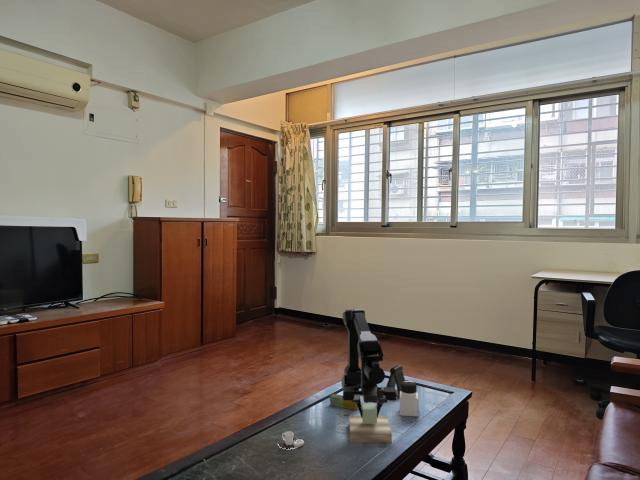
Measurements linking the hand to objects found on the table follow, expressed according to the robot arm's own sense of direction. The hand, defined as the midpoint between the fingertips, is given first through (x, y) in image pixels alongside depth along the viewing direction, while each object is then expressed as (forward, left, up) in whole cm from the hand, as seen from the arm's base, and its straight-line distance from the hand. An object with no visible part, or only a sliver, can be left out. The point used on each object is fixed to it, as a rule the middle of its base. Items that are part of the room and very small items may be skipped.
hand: (369, 417), depth 151 cm
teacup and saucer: (+11, -27, -6) cm, 30 cm away
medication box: (-22, -9, -6) cm, 25 cm away
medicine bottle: (-17, +17, -6) cm, 25 cm away
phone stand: (-37, +15, -6) cm, 40 cm away
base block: (0, 0, -6) cm, 6 cm away
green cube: (0, 0, -1) cm, 1 cm away
